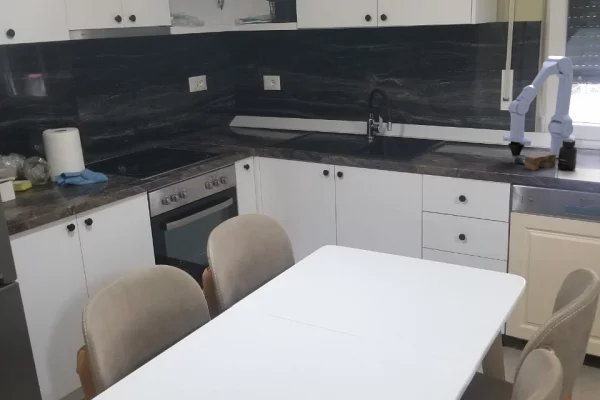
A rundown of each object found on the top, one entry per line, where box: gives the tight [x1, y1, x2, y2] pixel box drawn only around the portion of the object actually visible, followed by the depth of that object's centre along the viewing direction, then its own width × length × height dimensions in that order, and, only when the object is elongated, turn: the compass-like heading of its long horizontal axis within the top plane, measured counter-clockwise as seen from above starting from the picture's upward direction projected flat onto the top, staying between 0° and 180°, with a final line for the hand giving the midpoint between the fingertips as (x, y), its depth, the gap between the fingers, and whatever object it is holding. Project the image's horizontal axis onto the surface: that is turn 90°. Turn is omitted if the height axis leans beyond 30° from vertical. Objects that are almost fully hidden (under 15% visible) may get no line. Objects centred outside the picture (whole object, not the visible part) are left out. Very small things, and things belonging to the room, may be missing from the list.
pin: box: [512, 153, 526, 165], centre depth 267 cm, size 9×6×3 cm, turn 24°
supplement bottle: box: [557, 139, 578, 172], centre depth 254 cm, size 7×7×12 cm
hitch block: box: [524, 152, 557, 171], centre depth 261 cm, size 12×5×5 cm, turn 115°
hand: (515, 159), depth 272 cm, fingers closed
